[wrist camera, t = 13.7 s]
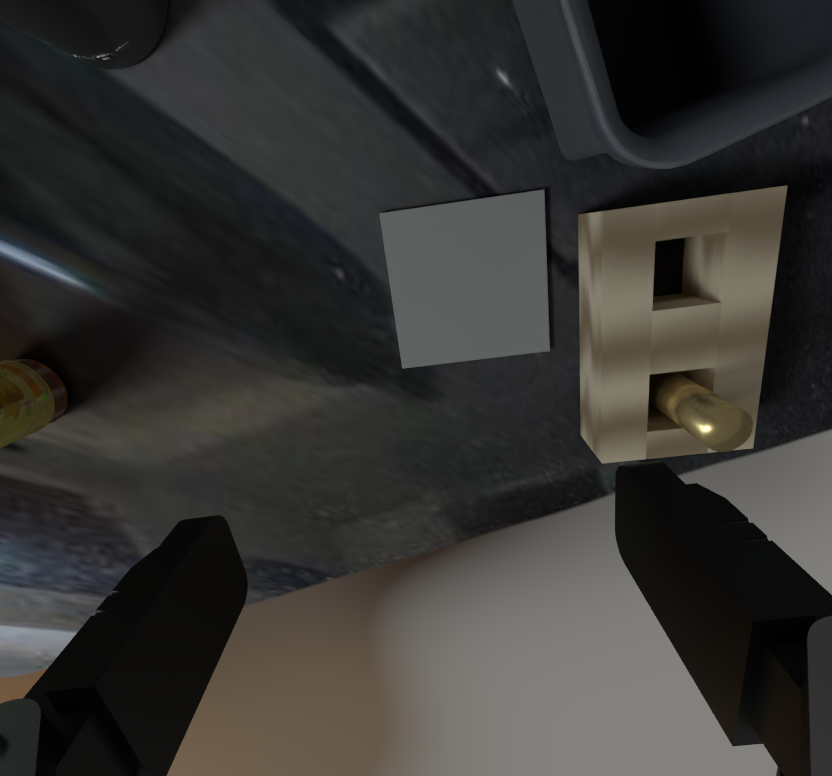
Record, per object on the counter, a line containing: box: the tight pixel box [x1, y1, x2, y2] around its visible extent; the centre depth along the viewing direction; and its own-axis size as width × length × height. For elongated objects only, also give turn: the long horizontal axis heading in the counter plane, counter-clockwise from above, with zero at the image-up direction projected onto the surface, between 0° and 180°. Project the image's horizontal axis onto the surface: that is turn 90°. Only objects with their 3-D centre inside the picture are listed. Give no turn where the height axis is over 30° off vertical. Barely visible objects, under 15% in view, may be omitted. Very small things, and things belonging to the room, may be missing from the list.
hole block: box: [578, 186, 787, 463], centre depth 33 cm, size 18×11×5 cm, turn 8°
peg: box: [648, 372, 753, 452], centre depth 32 cm, size 3×3×10 cm
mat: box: [379, 190, 550, 369], centre depth 34 cm, size 12×12×1 cm
